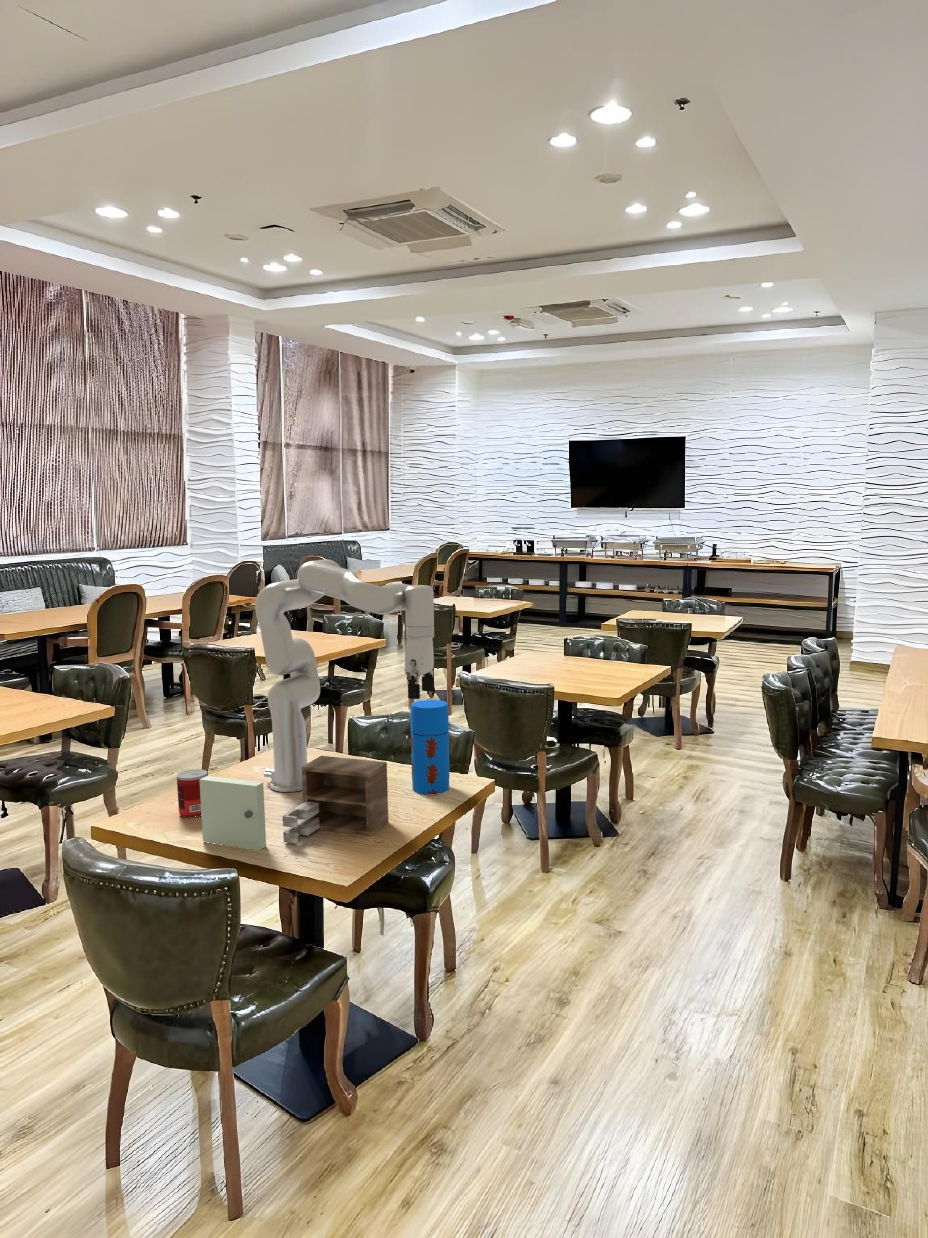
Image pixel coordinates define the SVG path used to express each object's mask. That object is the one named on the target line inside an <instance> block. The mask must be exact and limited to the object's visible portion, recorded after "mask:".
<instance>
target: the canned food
mask: <svg viewBox="0 0 928 1238" xmlns="http://www.w3.org/2000/svg"><path fill="white" fill-rule="evenodd" d="M208 774H209V773H208V771H207V770H205V769H202V768H201V769H199V768H197V769H193V768H192V769H188V770H184V771H180V772H179V773H177V775H176V786H177V787H176V789H177V805H178V813H179V816H180V815H181V816H180V817H182V816H185V817H195V816H200V815H201V797H200V779H202V778H204V777H206V776H209V775H208ZM200 817H201V816H200ZM195 818H196V817H195Z"/></svg>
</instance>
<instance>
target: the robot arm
mask: <svg viewBox="0 0 928 1238" xmlns="http://www.w3.org/2000/svg"><path fill="white" fill-rule="evenodd" d="M296 575H297V577H296V578H297V579H289V580H283V581H278V582H277V581H276V582H273V583H269V584H268V585H266V586H265V587H263V588H262V589H261V590H260V591H259V593H258V594H257V596H256V599H255V603H254V609H255V615H256V619H257V622H258V626H259V629H260V636H261V640H262V642H261V643H262V647H263V651H264V653H263V654H264V657H265V662H266V665H267V669H268V670H269V672H270V673H271V674H272V675H275V676H283V675H290V677H287V678H285V679H282V680H278V681H277V682H276V683H274V684H273V685H272V686H271V687H270V688H269V690H268V694H267V703H268V708H269V711H270V717H271V725H272V726H271V727H272V743H273V744H272V745H273V747H272V748H273V766H274V767H273V769H272V768H265V769H264V773H263V777H264V778H271V781H270V782H269V788H270V789H271V790H273V791H275V792H281V793H292V792H293V793H294V792H299V791H303V790H302V766H304V765H305V764H307V763H308V750H307V749H308V748H307V746H308V745H307V744H308V743H307V725H306V721H305V718H304V716H303V713H302V709H303V708H305V707H309V706H310V705H313V704H314V703H315V702H317V700H318V699H319V697H320V695H321V682H320V677H319V672H318V666H317V659H316V656H315V651H314V650H313V647H312V646H311V644H310V643H309V642H308V641H306V639H305V640H304V639H302V638H297V637H296V638H293V634H292V628H291V625H290V623H289V620H288V619H287V617H286V616H285V614H284V613H285V612H287V611H294V610H297V609H298V610H299V609H303V608H307V607H308V606H311V605H312V604H314V603H315V602H317V601H318V600H320V599H321V598H323V597H324V596H327V597H330V598H335V599H337V600H342V601H344V602H346V604H348V605H350V606H351V607H353V608H354V609H355V608H356V609H357V610H361V611H365V612H369V613H373V614H377V615H388V614H394V613H397V612H401V611H405V638H406V643H405V651H404V652H405V653H404V674H405V675H406V680H407V681H406V683H407V698H408V699H410V700H420V699H421V691H422V692H434V674H435V672H434V669H435V666H434V665H435V656H434V652H435V651H434V641H433V638H435V609H434V608H435V605H434V604H435V602H434V589H433V588H432V586H430V585H423V584H415V585H413V584H406V583H401V582H400V583H399V582H398V583H397V582H396V583H390V584H386V585H385V584H384V585H376V584H372V583H369V582H365V581H362V580H359V576H358V574H357V573H356V572H355V570H352V569H347V568H344V567H341V566H340V564H339V563H337V562H336V561H334V560H332V559H317V560H309V561H307V562H305V563H303V564H302V565H301V566H300V567H299V568H298V571H297V574H296ZM420 679H421V684H420V682H419V681H420Z"/></svg>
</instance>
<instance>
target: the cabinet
mask: <svg viewBox="0 0 928 1238" xmlns="http://www.w3.org/2000/svg"><path fill="white" fill-rule="evenodd" d="M388 790H389V789H388V763H387V761H379V760H377V761H376V760H371V759H370V760H368V759H360V758H359V759H358V758H350V757H348V758H347V757H339V756H337V757H336V756H327V755H320V756H318V757H316V758H315V759H312V760H311V761H308V762H307V764H305V765H304V766H302V790H301V791H302V803H301V804H299V805H298V806H296V807H295V808H293V809H291V810H290V811H289V812H287V813H285V814H284V815H282V826H283V827H287V829H286V830H284V831H283V833H282V834H283V836H282V837H283V842H284V843H289V844H295V845H296V844H298V843H299V835H301V836H307V837H308V836H310V835H311V834H312V833H314V832H315V831H316V830H319V831H320V830H322V831H328V832H336V833H345V834H353V835H360V836H365V837H367V836H368V837H372V836H373V835H374V834H376V833H377V832H378V831H380V830H381V829H382V828H383V827H385V826H386V825H387V824H388V823H389V799H388V797H389V794H388ZM298 820H299V821H298ZM386 823H387V824H386ZM381 827H382V828H381ZM380 828H381V829H380Z"/></svg>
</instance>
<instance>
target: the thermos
mask: <svg viewBox="0 0 928 1238" xmlns="http://www.w3.org/2000/svg"><path fill="white" fill-rule="evenodd" d="M409 711H410V746H411V747H410V749H411V751H410V753H411V758H410V759H411V779H412V780H411V781H412V791H413V792H414V793H417V794H421V795H426V794H429V796H431V795H430V794H434V795H438V794H443V793H446V792H447V791H449V789H450V732H449V731H450V730H449V729H450V728H449V727H450V724H449V723H450V722H449V720H450V719H449V715H450V714H449V704H448V702H447V701H446V700H440V699H421V700H420V699H419V700H417V701H412V703H411V704H410V710H409Z"/></svg>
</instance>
